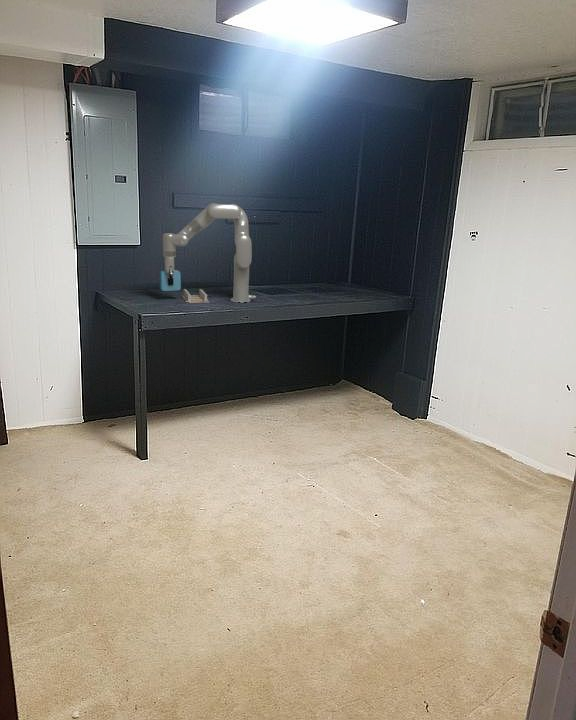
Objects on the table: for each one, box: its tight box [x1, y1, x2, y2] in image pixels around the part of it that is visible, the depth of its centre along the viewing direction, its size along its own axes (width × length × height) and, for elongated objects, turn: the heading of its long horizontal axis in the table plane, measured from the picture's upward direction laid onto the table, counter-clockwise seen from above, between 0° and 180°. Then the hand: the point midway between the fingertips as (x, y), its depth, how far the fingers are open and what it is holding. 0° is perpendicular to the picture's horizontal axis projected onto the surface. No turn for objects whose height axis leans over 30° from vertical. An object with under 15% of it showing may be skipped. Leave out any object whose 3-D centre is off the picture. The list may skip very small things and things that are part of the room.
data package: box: [159, 269, 182, 292], centre depth 358 cm, size 12×4×12 cm, turn 117°
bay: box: [181, 288, 210, 304], centre depth 365 cm, size 20×14×5 cm
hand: (170, 283), depth 358 cm, fingers closed on data package, 5 cm apart
